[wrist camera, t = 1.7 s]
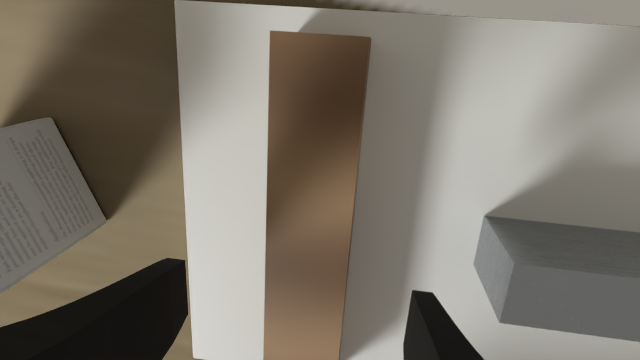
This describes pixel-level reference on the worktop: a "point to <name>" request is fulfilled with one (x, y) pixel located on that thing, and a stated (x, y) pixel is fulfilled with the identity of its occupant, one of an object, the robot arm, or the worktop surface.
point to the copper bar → (311, 188)
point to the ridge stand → (430, 180)
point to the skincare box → (40, 199)
